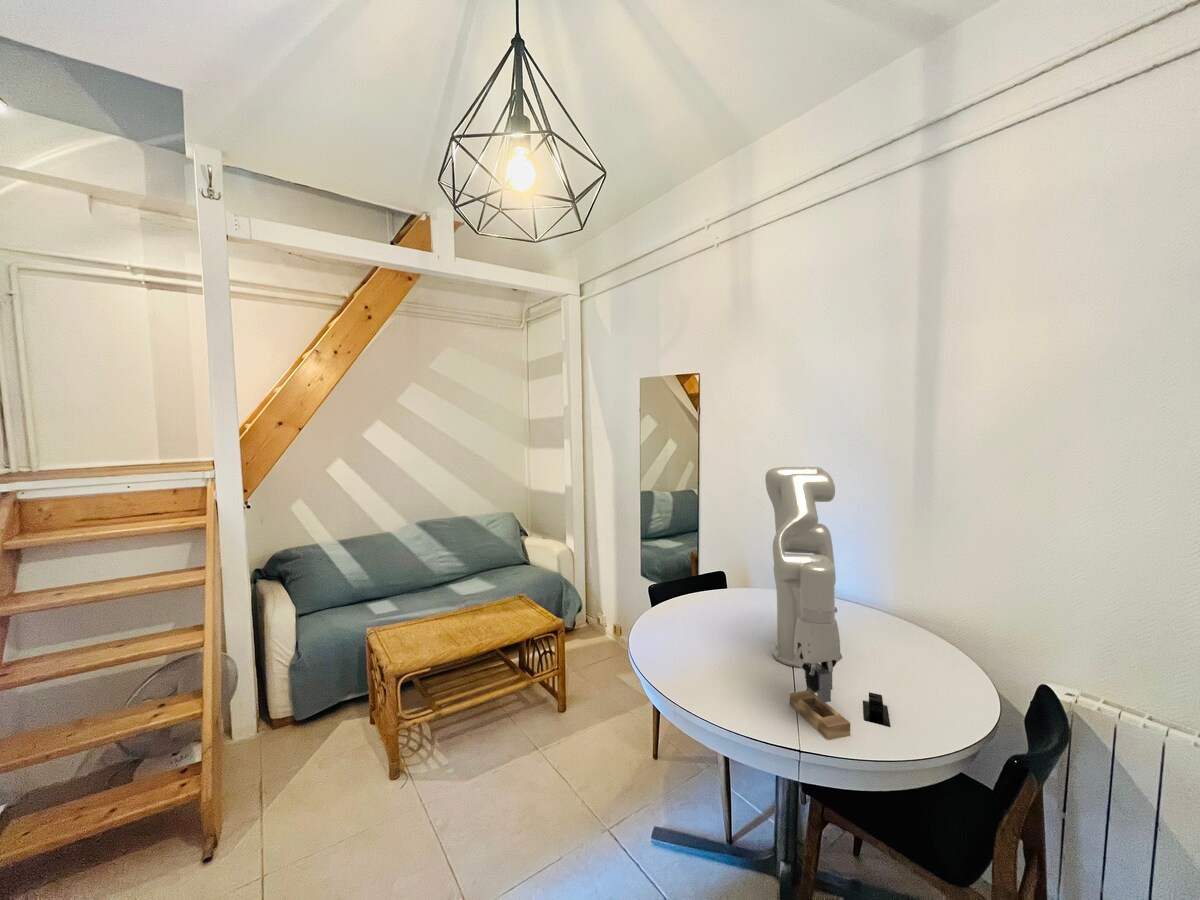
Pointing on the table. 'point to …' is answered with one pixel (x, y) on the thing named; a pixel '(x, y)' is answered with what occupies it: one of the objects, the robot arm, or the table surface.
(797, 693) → the slotted wooden block
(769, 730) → the table surface
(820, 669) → the clip
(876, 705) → the black stepped block
